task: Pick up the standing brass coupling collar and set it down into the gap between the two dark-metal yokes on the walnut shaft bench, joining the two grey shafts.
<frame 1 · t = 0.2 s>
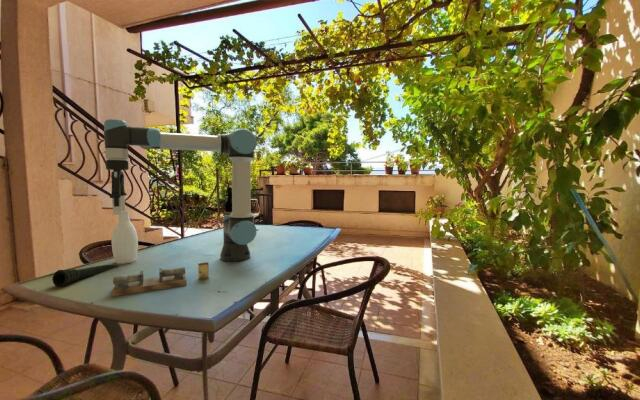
hand: (119, 213, 120), 28 cm above the table, fingers open, 13 cm apart
bench: (151, 286, 116), on the table
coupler: (203, 278, 125), on the table
bottle: (125, 261, 149), on the table
tool: (88, 276, 128), on the table
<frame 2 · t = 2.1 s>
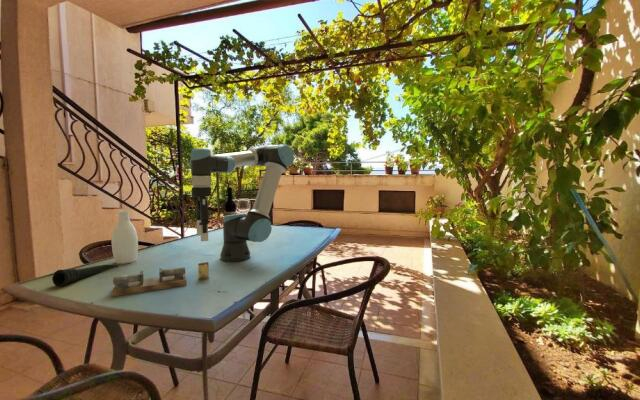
hand: (202, 237, 124), 17 cm above the table, fingers open, 13 cm apart
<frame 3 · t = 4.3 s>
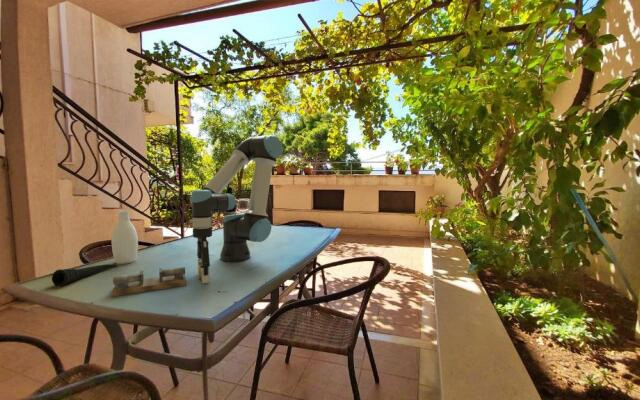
hand: (203, 277, 125), 0 cm above the table, fingers open, 12 cm apart
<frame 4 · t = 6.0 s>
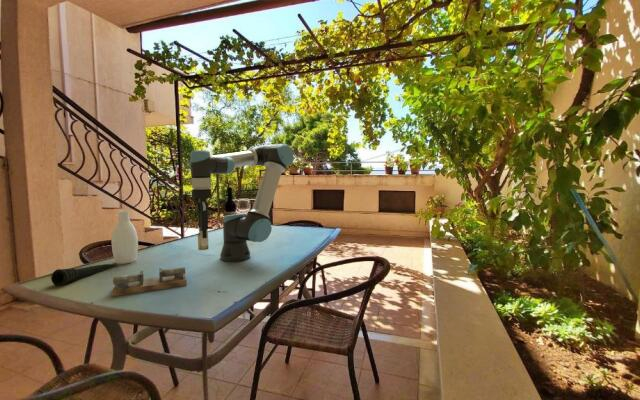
hand: (203, 244, 125), 14 cm above the table, fingers closed on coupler, 4 cm apart
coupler: (203, 248, 125), point 12 cm above the table, touching gripper
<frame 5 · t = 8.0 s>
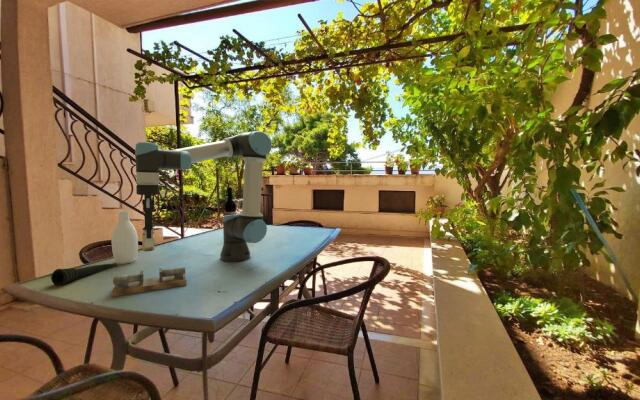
hand: (149, 245, 114), 16 cm above the table, fingers closed on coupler, 4 cm apart
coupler: (148, 250, 114), point 14 cm above the table, touching gripper
when the fingers open (3 cm above the table, at t = 10.3 s): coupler stays where it is, resting on bench.
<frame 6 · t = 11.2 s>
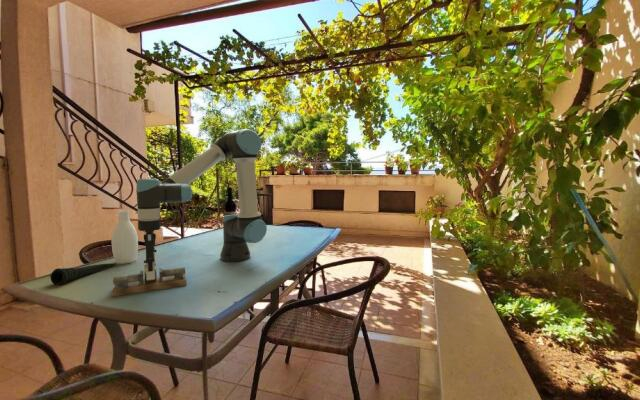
hand: (151, 274, 115), 5 cm above the table, fingers open, 13 cm apart
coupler: (150, 281, 115), point 2 cm above the table, touching bench
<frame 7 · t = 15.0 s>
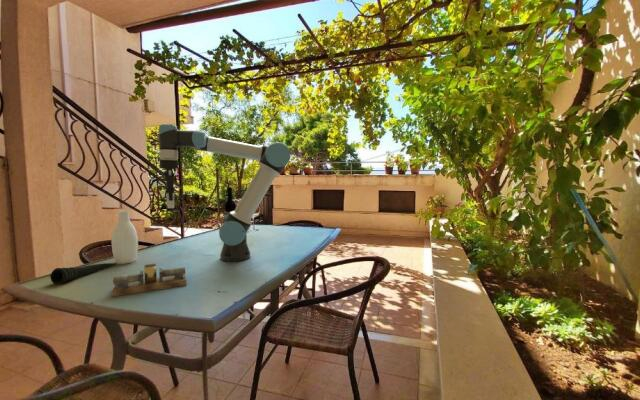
hand: (170, 206, 136), 29 cm above the table, fingers open, 13 cm apart
at the end: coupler 0.2 cm off-centre on the bench, point 2.0 cm above the bench's base; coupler tilted 0°; the gripper is holding nothing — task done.
